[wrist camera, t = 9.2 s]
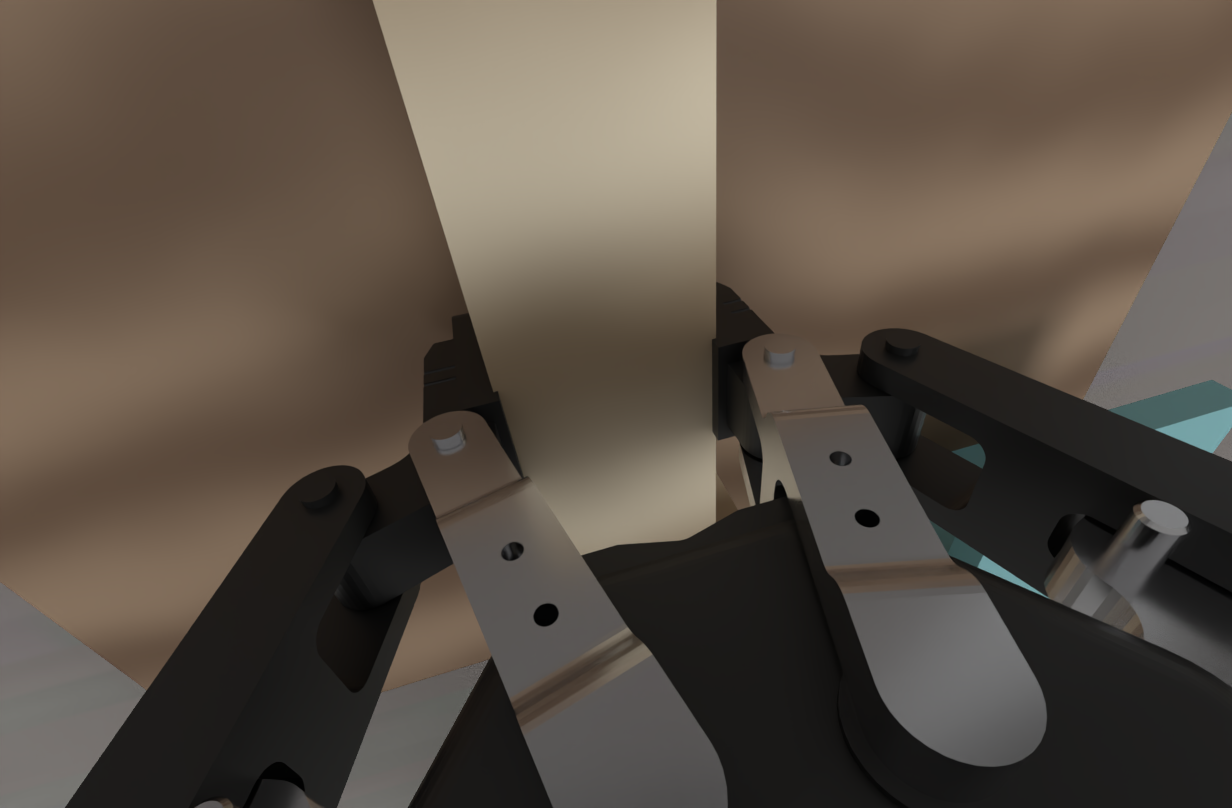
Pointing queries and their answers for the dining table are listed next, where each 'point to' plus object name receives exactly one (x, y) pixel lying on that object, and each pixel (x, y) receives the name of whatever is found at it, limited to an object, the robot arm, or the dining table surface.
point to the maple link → (582, 239)
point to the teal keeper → (1179, 414)
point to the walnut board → (426, 276)
